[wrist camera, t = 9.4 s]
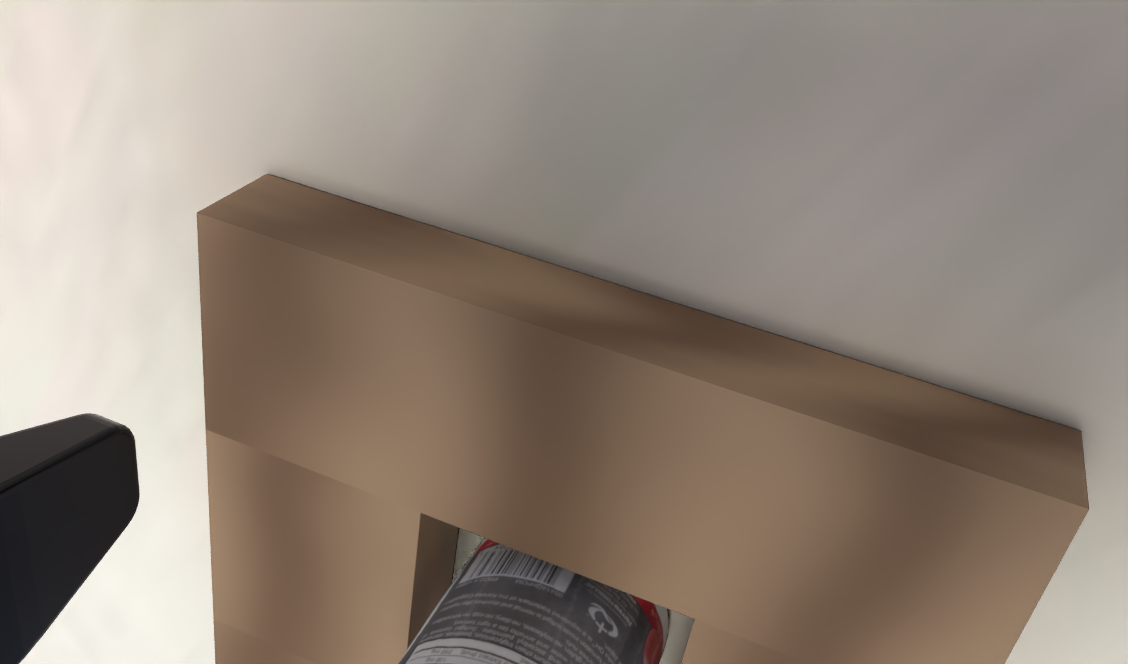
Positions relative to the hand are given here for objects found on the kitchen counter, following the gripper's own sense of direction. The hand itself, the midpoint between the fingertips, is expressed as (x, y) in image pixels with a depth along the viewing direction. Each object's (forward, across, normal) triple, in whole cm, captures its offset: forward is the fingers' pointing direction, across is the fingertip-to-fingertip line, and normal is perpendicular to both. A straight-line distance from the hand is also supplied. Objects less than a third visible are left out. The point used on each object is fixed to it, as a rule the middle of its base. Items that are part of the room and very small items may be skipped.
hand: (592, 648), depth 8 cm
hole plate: (+13, +3, +13) cm, 19 cm away
